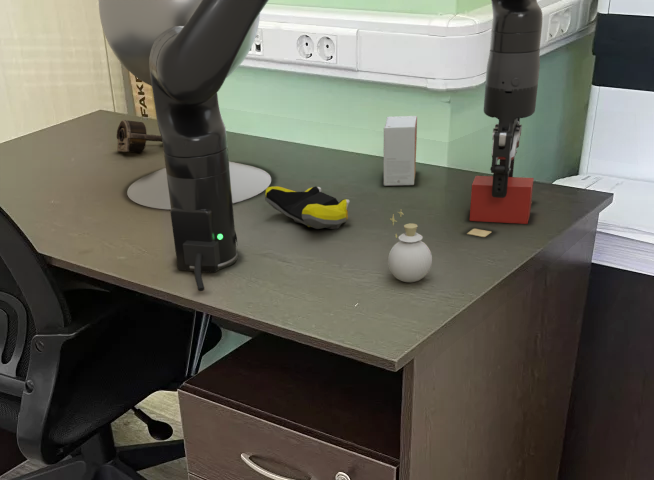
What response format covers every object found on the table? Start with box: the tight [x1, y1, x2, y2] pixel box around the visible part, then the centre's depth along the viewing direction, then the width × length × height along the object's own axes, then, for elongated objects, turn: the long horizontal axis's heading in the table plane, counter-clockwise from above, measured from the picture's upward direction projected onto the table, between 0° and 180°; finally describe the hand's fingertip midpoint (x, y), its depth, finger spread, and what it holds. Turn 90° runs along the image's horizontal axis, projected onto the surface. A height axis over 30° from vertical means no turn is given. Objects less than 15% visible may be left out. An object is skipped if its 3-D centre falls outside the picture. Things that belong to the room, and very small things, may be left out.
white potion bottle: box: [387, 210, 433, 283], centre depth 119 cm, size 6×7×10 cm
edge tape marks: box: [466, 201, 533, 238], centre depth 139 cm, size 17×3×1 cm, turn 141°
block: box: [469, 175, 535, 225], centre depth 138 cm, size 4×9×6 cm, turn 70°
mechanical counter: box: [116, 119, 162, 153], centre depth 186 cm, size 7×13×10 cm
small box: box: [383, 115, 418, 187], centre depth 156 cm, size 8×6×10 cm
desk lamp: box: [98, 0, 272, 211], centre depth 153 cm, size 28×28×45 cm
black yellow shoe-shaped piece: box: [264, 185, 350, 230], centre depth 142 cm, size 15×6×10 cm
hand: (502, 187), depth 136 cm, fingers open, 8 cm apart
